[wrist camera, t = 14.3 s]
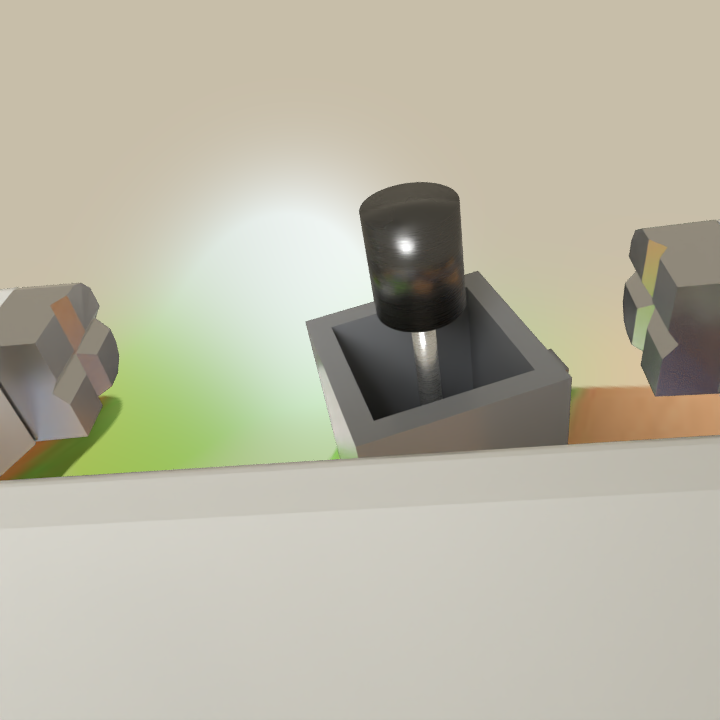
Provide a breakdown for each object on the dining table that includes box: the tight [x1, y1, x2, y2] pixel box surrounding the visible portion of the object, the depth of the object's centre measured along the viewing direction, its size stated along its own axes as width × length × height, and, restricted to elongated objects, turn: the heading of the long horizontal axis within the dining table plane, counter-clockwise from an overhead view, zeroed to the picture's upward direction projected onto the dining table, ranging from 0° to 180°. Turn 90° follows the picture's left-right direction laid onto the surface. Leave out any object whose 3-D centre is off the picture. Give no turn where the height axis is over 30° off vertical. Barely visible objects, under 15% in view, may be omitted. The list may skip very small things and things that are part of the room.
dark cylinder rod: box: [359, 182, 466, 406], centre depth 29 cm, size 6×6×17 cm
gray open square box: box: [306, 271, 572, 459], centre depth 33 cm, size 11×9×16 cm
